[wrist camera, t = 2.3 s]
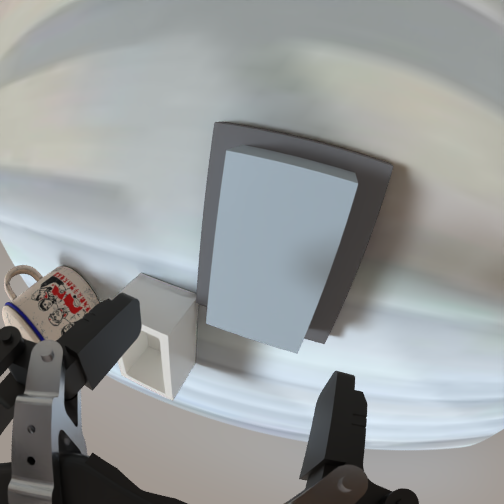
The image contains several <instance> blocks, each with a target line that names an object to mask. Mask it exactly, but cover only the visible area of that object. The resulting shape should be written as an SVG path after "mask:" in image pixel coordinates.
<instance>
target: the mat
mask: <svg viewBox="0 0 504 504" xmlns="http://www.w3.org/2000/svg"><path fill="white" fill-rule="evenodd" d="M241 145H247V146H252V147H257V148H262V149H266V150H271V151H275V152H280V153H284V154H288V155H292V156H296V157H300V158H304V159H308V160H312V161H316V162H319V163H323V164H327V165H330V166H334V167H337V168H341V169H344V170H347V171H351V172H354V173H355V174H356V177H357V181H358V186H357V190H356V193H355V197H354V200H353V203H352V207H351V210H350V213H349V216H348V219H347V223H346V226H345V229H344V232H343V235H342V238H341V241H340V244H339V247H338V250H337V253H336V256H335V258H334V261H333V264H332V267H331V270H330V273H329V275H328V278H327V281H326V284H325V286H324V289H323V292H322V294H321V297H320V299H319V302H318V305H317V307H316V310H315V312H314V315H313V317H312V320H311V322H310V325H309V327H308V330H307V332H306V335H305V337H304V338H305V339H308V340H312V341H315V342H319V343H322V344H325V342H326V340H327V338H328V336H329V334H330V332H331V330H332V327H333V325H334V323H335V321H336V319H337V317H338V314H339V312H340V310H341V308H342V306H343V303H344V301H345V299H346V297H347V294H348V292H349V290H350V287H351V285H352V282H353V280H354V278H355V275H356V273H357V270H358V268H359V265H360V263H361V260H362V258H363V255H364V252H365V250H366V247H367V245H368V242H369V239H370V236H371V234H372V231H373V228H374V225H375V222H376V220H377V217H378V214H379V211H380V208H381V205H382V202H383V199H384V196H385V192H386V189H387V186H388V183H389V179H390V176H391V173H392V169H393V165H391V164H390V163H388V162H385V161H382V160H379V159H376V158H373V157H370V156H367V155H363V154H360V153H357V152H354V151H350V150H347V149H344V148H340V147H337V146H333V145H329V144H326V143H322V142H318V141H314V140H310V139H306V138H302V137H298V136H294V135H289V134H285V133H280V132H276V131H271V130H266V129H261V128H256V127H250V126H245V125H239V124H233V123H226V122H215V123H214V130H213V137H212V145H211V152H210V160H209V168H208V176H207V184H206V193H205V202H204V211H203V221H202V232H201V243H200V254H199V267H198V280H197V295H196V303H198V304H200V305H203V306H206V307H207V306H208V295H209V285H210V276H211V266H212V257H213V248H214V239H215V231H216V223H217V215H218V207H219V199H220V191H221V184H222V177H223V170H224V163H225V156H226V150H229V149H232V148H235V147H238V146H241Z"/></svg>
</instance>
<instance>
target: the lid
mask: <svg viewBox="0 0 504 504" xmlns="http://www.w3.org/2000/svg"><path fill="white" fill-rule="evenodd" d="M357 186H358V181H357V177H356V174H355V173H354V172H351V171H347V170H344V169H341V168H337V167H334V166H330V165H327V164H323V163H319V162H316V161H312V160H308V159H304V158H300V157H296V156H292V155H288V154H284V153H280V152H275V151H271V150H266V149H262V148H257V147H252V146H247V145H241V146H238V147H235V148H232V149H229V150H226V156H225V163H224V170H223V177H222V184H221V191H220V199H219V207H218V215H217V223H216V231H215V239H214V248H213V257H212V266H211V276H210V285H209V295H208V306H207V317H206V324H209V325H211V326H214V327H217V328H220V329H222V330H225V331H228V332H231V333H234V334H237V335H240V336H243V337H246V338H249V339H252V340H255V341H258V342H261V343H264V344H267V345H270V346H274V347H277V348H280V349H283V350H287V351H290V352H293V353H298V351H299V349H300V346H301V344H302V342H303V339H304V337H305V335H306V332H307V330H308V327H309V325H310V322H311V320H312V317H313V315H314V312H315V310H316V307H317V305H318V302H319V299H320V297H321V294H322V292H323V289H324V286H325V284H326V281H327V278H328V275H329V273H330V270H331V267H332V264H333V261H334V258H335V256H336V253H337V250H338V247H339V244H340V241H341V238H342V235H343V232H344V229H345V226H346V223H347V219H348V216H349V213H350V210H351V207H352V203H353V200H354V197H355V193H356V190H357Z"/></svg>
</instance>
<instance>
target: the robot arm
mask: <svg viewBox="0 0 504 504" xmlns="http://www.w3.org/2000/svg"><path fill="white" fill-rule="evenodd" d="M141 328H142V324H141V313H140V302H139V300H138V299H136V298H134V297H132V296H130V295H128V294H125V293H120V294H118V295H117V296H116V297H115V298H114V299H113V300H110V299H108V300H105V301H103V302H101V303H98V304H97V305H96V306H94V307H93V308H92V309H91V310H90V311H89V313H86V314H85V315H84V316H83V318H82V319H80V320H79V321H77V322H76V323H75V324H74V325H73V326H72V327H71V328H70V329H69V330H68V331H66V332H65V333H64V334H63V335H62V336H61V337H60V338H59V339H58V340H56V341H54V340H43V341H41V342H39V343H35V342H32V341H29V340H27V339H24V338H22V335H21V333H20V331H19V329H18V328H16V327H14V326H6V327H3V328H2V329H0V376H1V375H2V374H3V373H4V371H6V369H7V368H9V370H10V373H9V374H8V375H7V376H6V378H5V379H4V380H3V381H2V382H1V383H0V435H1V433H2V432H3V431H4V429H5V428H6V427H7V425H8V424H9V423H10V421H11V420H12V419H13V431H12V432H13V433H12V462H9V463H0V504H187V503H185V502H182V501H179V500H177V499H175V498H170V497H166V496H162V495H157V494H153V493H149V492H145V491H143V490H141V489H139V488H138V487H137V486H136V485H135V484H134V483H132V482H131V481H130V480H129V479H128V478H127V477H126V476H125V475H124V474H122V473H121V472H120V471H119V470H118V469H117V468H116V467H114V466H112V465H111V464H109V463H107V462H106V461H104V460H103V459H101V458H100V457H98V456H97V455H95V454H94V453H92V454H91V456H87V448H86V443H85V439H84V437H83V433H82V425H81V424H82V423H81V390H80V389H81V388H82V387H83V386H84V385H85V386H87V387H88V388H90V389H91V390H93V389H94V388H95V387H96V386H97V385H98V383H99V382H100V381H101V380H102V379H103V378H104V376H105V375H106V374H107V373H108V372H109V371H110V369H111V368H112V367H113V366H114V365H115V364H116V362H117V361H118V360H119V359H120V358H121V357H122V356H123V354H124V353H125V352H126V351H127V350H128V349H129V348H130V346H131V345H132V344H133V343H134V342H135V341H136V339H137V338H138V337H139V335H140V332H141ZM354 389H355V376H354V375H351V374H347V373H343V372H339V371H335V372H334V373H333V374H332V376H331V378H330V379H329V381H328V382H327V384H326V386H325V387H324V389H323V390H322V392H321V393H320V395H319V398H318V400H317V403H316V407H315V412H314V417H313V422H312V427H311V432H310V436H309V441H308V445H307V450H306V454H305V458H304V462H303V466H302V470H301V474H300V478H299V479H302V480H307V484H306V488H305V489H304V490H303V491H302V492H300V493H299V494H297V495H296V496H295V497H293V498H292V499H290V500H289V501H287V502H286V503H284V504H419V501H418V498H417V496H416V494H415V493H414V492H412V491H411V490H409V489H398V490H395V491H393V492H392V491H390V490H387V489H385V488H383V487H380V486H378V485H376V484H374V483H372V482H371V481H370V480H369V479H368V478H367V476H366V474H365V472H364V469H363V458H364V448H365V436H366V428H365V427H366V421H367V419H366V417H367V402H366V399H365V397H364V394H363V392H361V391H357V390H354Z"/></svg>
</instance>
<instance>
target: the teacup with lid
mask: <svg viewBox="0 0 504 504" xmlns="http://www.w3.org/2000/svg"><path fill="white" fill-rule="evenodd" d="M17 274H28V275H31V276H32V277H33V278H34V279H35V280H36V281H37V282H36V283H35V284H34V285H32V286H31V287H30V288H28V289H27V290H26V291H25V292H23V293H22V294H21V295H19V296H18V297H17V296H16V295H15V293H14V292H13V291H12V289H11V287H10V283H9V282H10V280H11V278H12V277H14V276H15V275H17ZM4 287H5V291H6V293H7V295H8V297H9V298H10V300H11V301H12V302H11V303H10V302H7V303H6V304H5V306H4V307H3V310H2V316H3V320H4V323H5V325H6V326H14V327H16V328H18V329H19V331H20V333H21V335H22V338H24V339H27V340H29V341H32V342H35V343H39V342H41V341H43V340H54V341H56V340H58V339H59V338H60V337H61V336H62V335H63V334H64V333H65V332H66V331H68V330H69V329H70V328H71V327H72V326H73V325H74V324H75V323H76V322H77V321H79V320H80V319H82V318H83V316H84V315H85V314H86V313H89V311H90V310H91V309H92V308H93V307H94V306H96V305H97V304H98V303H99V301H98V299H97V297H96V295H95V293H94V292H93V290H92V289H91V287H90V286H89V285H88V283H87V282H86V281H85V280H84V279H83V278H82V277H81V276H80V275H79V274H78V273H77V272H75V271H74V270H72V269H71V268H68V267H65V266H60V267H57V268H56V269H54V270H53V271H51V272H50V273H49V274H47V275H46V276H44V277H42V275H41V274H40V273H39V272H38V271H37V270H36V269H35V268H33V267H31V266H27V265H20V266H16V267H14V268H12V269H10V270H9V271H8V272H7V274H6V276H5V280H4Z"/></svg>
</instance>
